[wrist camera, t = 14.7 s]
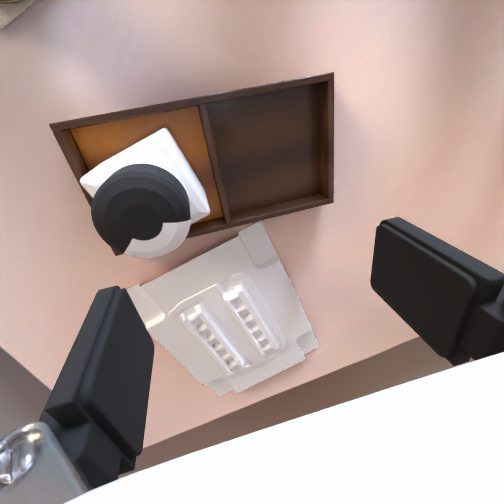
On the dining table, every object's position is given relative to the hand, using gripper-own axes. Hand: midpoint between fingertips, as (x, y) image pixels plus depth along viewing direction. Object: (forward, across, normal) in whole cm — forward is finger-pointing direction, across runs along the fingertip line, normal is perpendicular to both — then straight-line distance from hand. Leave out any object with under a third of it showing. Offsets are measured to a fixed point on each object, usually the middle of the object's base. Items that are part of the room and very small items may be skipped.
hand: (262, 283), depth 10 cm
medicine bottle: (+21, +6, 0) cm, 22 cm away
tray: (+22, +2, +24) cm, 32 cm away
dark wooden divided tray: (+22, 0, 0) cm, 22 cm away
